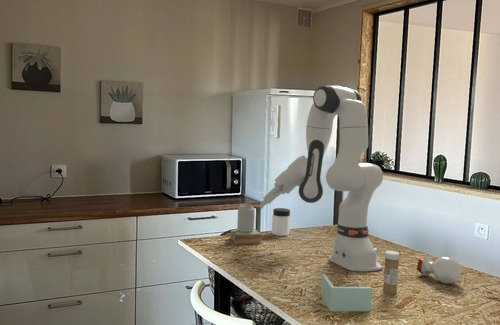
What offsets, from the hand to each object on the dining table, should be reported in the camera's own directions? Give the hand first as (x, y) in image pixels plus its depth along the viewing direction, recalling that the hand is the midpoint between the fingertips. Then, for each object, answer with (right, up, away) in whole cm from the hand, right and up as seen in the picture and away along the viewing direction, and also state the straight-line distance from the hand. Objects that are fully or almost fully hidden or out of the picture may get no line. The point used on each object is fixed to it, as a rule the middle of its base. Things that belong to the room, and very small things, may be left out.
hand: (262, 204), depth 210 cm
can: (-8, -12, +2) cm, 15 cm away
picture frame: (-8, -16, +2) cm, 18 cm away
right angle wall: (+23, -25, -68) cm, 76 cm away
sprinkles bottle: (+40, -24, -57) cm, 74 cm away
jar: (+9, -16, +17) cm, 25 cm away
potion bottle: (+61, -23, -44) cm, 79 cm away
